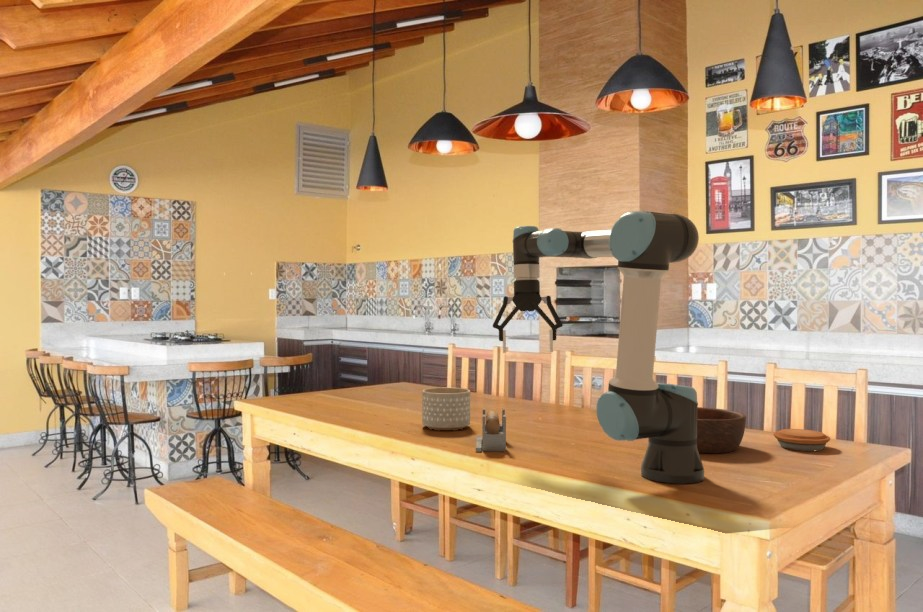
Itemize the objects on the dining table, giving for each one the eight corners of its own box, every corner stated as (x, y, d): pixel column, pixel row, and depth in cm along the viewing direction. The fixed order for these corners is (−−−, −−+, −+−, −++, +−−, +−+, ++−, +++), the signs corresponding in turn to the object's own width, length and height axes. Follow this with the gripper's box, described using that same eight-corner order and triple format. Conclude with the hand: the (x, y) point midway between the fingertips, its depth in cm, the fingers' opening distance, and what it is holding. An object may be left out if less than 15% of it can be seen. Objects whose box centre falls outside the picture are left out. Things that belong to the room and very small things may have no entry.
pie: (800, 441, 226) (800, 425, 226) (842, 451, 211) (842, 433, 211) (761, 444, 220) (761, 428, 220) (802, 454, 206) (802, 437, 206)
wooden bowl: (688, 458, 201) (688, 421, 200) (642, 441, 225) (642, 408, 225) (764, 453, 207) (764, 417, 207) (712, 437, 231) (712, 405, 231)
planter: (416, 430, 242) (416, 392, 241) (429, 422, 257) (430, 386, 257) (463, 432, 238) (464, 394, 237) (474, 424, 254) (474, 388, 253)
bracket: (506, 452, 207) (506, 417, 207) (475, 451, 208) (475, 417, 208) (504, 439, 226) (504, 407, 226) (476, 439, 227) (476, 407, 227)
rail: (497, 436, 208) (501, 423, 208) (484, 431, 208) (488, 418, 208) (496, 425, 227) (500, 413, 227) (484, 420, 227) (488, 408, 227)
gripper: (567, 279, 214) (568, 351, 214) (483, 280, 215) (484, 352, 214) (571, 278, 207) (572, 352, 207) (484, 279, 207) (485, 353, 207)
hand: (527, 352), depth 210 cm, fingers open, 13 cm apart
